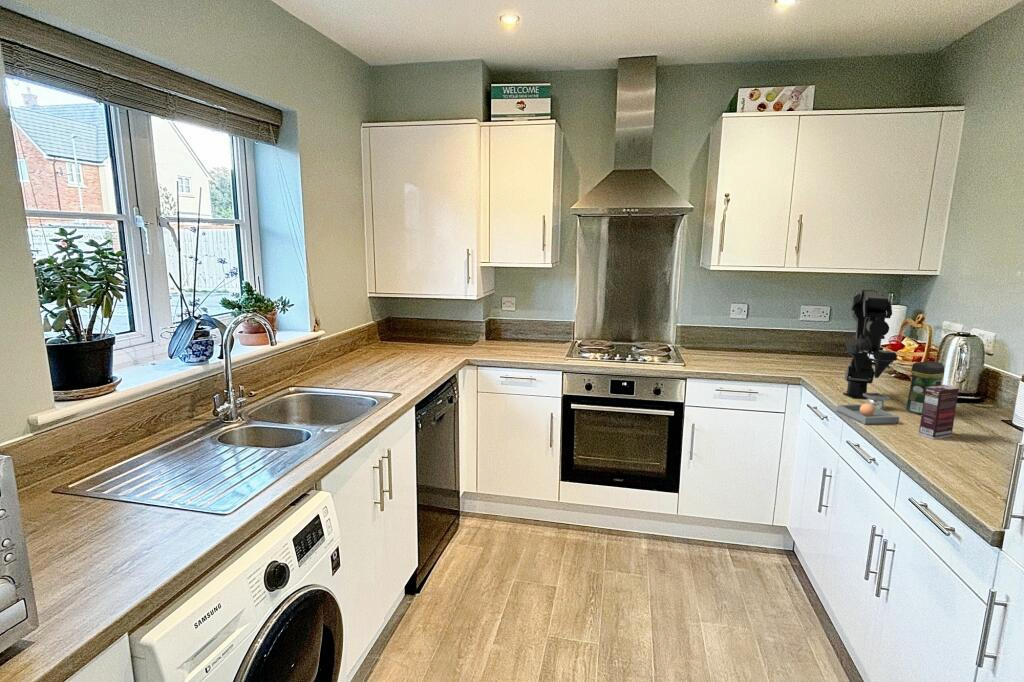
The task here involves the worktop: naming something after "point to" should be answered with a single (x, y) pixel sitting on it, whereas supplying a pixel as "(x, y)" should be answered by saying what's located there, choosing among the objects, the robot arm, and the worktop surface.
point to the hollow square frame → (876, 399)
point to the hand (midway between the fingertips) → (866, 374)
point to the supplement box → (938, 411)
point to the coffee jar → (923, 383)
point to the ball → (867, 409)
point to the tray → (875, 419)
